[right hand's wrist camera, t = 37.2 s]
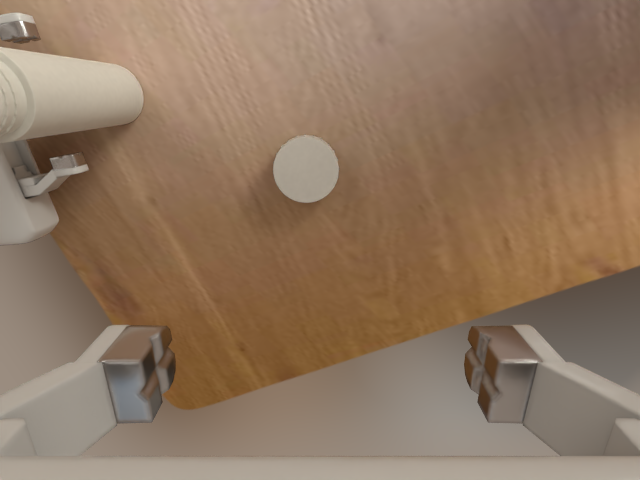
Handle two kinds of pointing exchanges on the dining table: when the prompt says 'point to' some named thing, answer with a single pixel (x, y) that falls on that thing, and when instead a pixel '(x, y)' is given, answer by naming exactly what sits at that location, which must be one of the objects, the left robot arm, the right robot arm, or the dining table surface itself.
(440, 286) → the dining table surface
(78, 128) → the jar
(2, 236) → the left robot arm
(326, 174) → the lid
